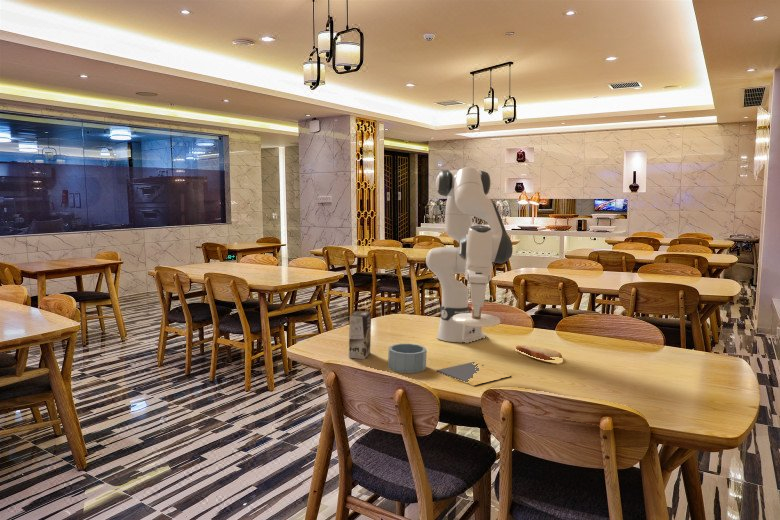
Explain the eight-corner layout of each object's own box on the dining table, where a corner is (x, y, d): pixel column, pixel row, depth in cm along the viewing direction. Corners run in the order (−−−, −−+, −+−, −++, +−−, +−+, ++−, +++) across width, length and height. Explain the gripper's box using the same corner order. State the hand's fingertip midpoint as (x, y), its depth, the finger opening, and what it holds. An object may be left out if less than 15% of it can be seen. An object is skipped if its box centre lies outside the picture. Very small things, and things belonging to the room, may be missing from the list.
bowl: (409, 360, 204) (410, 341, 204) (432, 369, 194) (433, 350, 193) (381, 366, 197) (381, 346, 196) (403, 376, 186) (404, 355, 186)
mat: (473, 363, 202) (473, 361, 202) (511, 376, 188) (511, 375, 188) (436, 371, 192) (436, 370, 192) (473, 386, 177) (473, 385, 177)
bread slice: (514, 349, 224) (514, 340, 224) (560, 353, 220) (561, 343, 220) (513, 361, 207) (514, 351, 207) (564, 366, 203) (564, 356, 203)
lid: (475, 313, 199) (476, 301, 198) (510, 322, 186) (510, 309, 186) (442, 319, 189) (443, 306, 189) (476, 329, 177) (477, 315, 176)
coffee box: (365, 359, 203) (366, 316, 202) (348, 358, 205) (349, 315, 203) (370, 352, 212) (371, 311, 210) (354, 351, 214) (355, 310, 212)
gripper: (469, 269, 197) (467, 307, 198) (468, 278, 176) (466, 320, 178) (487, 270, 196) (485, 308, 197) (488, 279, 176) (486, 321, 177)
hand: (476, 314), depth 188 cm, fingers closed on lid, 3 cm apart
